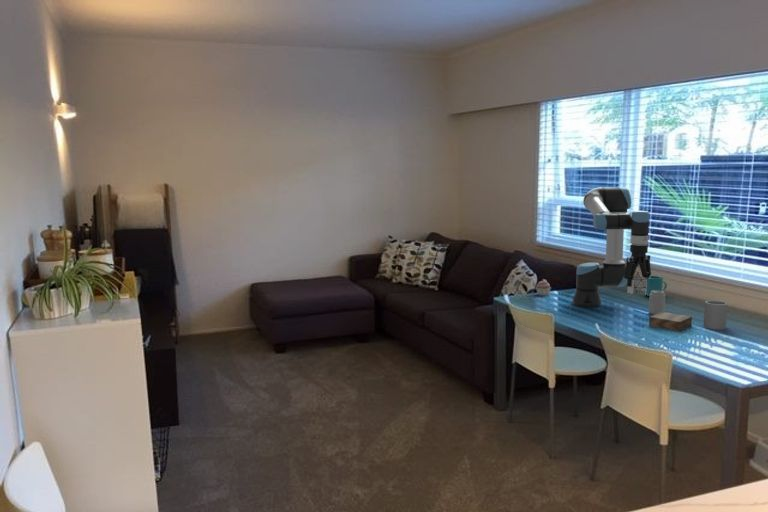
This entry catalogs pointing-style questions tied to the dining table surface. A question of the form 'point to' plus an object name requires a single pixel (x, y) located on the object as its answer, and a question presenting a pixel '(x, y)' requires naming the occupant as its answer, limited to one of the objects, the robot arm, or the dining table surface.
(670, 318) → the walnut block
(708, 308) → the cup
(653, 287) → the cup
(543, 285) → the cupcake
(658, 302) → the can
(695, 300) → the dining table surface
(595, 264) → the robot arm
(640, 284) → the game die
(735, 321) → the dining table surface
